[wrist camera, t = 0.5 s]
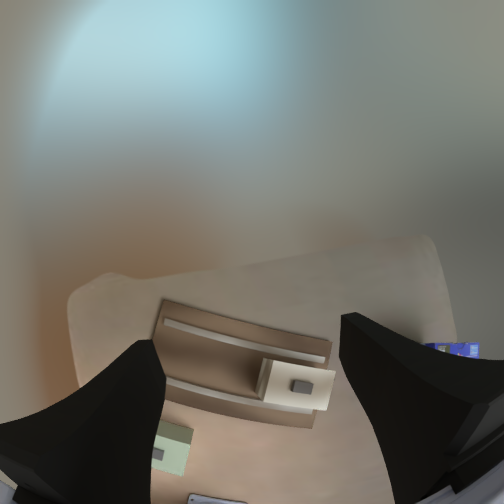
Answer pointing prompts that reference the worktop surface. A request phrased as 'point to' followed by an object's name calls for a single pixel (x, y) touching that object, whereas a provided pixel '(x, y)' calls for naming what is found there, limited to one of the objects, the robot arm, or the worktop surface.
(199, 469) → the worktop surface
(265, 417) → the rail board
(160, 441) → the module
